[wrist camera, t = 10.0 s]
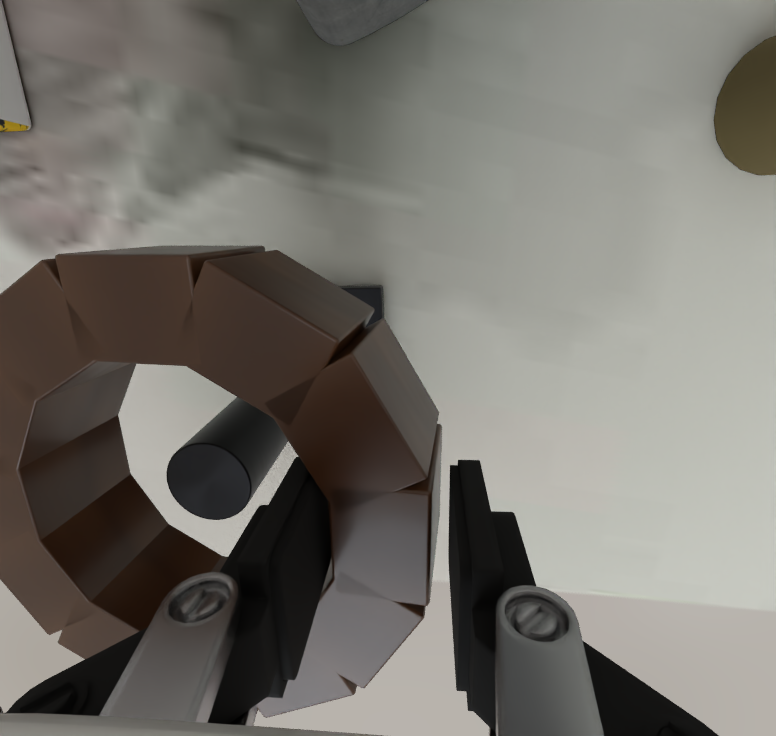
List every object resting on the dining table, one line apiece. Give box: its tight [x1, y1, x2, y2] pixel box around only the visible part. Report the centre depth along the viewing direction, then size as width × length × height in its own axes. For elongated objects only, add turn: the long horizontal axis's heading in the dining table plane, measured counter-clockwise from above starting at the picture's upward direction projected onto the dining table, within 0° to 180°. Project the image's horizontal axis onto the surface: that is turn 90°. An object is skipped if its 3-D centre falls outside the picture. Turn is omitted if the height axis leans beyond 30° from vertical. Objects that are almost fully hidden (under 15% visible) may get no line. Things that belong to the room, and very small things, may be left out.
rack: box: [167, 285, 384, 520], centre depth 20 cm, size 8×8×14 cm
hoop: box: [0, 246, 442, 718], centre depth 13 cm, size 13×13×4 cm
